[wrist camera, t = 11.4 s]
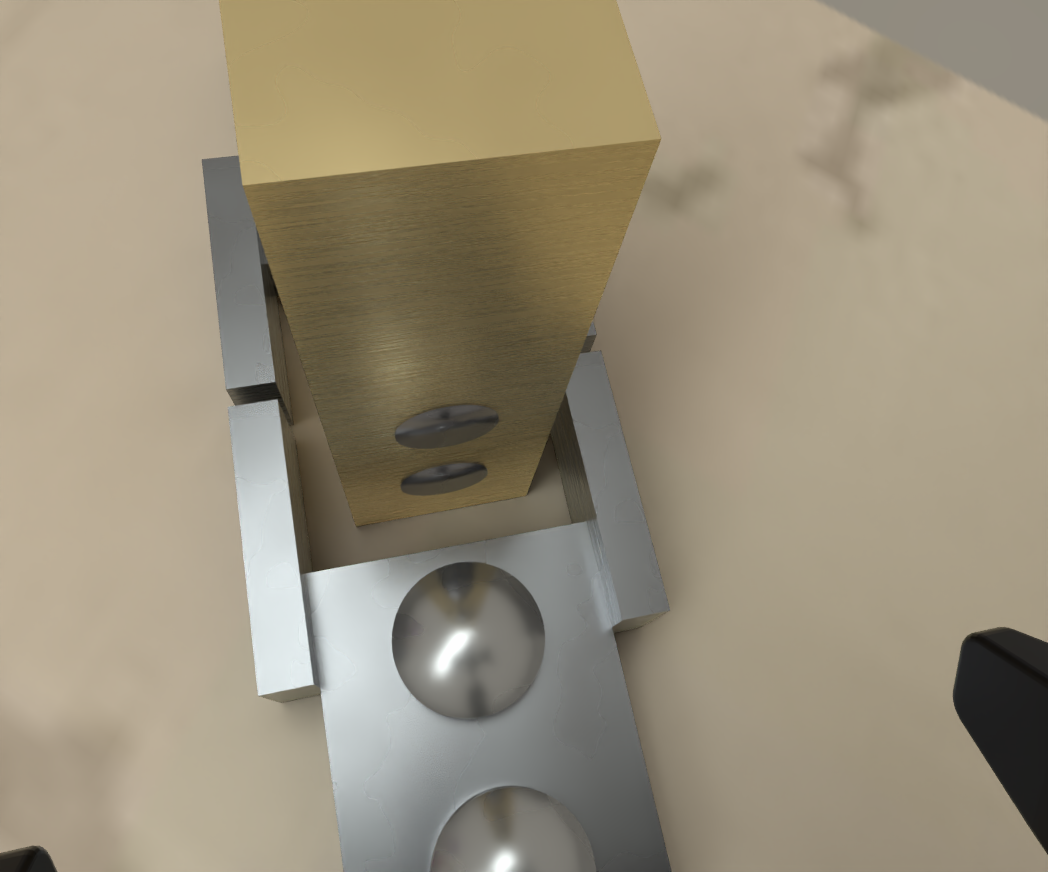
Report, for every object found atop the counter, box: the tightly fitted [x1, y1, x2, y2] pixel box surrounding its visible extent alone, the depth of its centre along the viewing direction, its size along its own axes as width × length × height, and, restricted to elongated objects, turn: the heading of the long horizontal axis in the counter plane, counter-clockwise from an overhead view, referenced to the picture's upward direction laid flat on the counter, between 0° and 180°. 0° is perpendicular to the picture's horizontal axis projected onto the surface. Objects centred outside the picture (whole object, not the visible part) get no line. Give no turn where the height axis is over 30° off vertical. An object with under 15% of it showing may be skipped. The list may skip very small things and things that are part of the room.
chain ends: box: [202, 156, 671, 872], centre depth 19 cm, size 23×8×2 cm, turn 12°
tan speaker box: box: [219, 0, 661, 527], centre depth 15 cm, size 5×4×12 cm
